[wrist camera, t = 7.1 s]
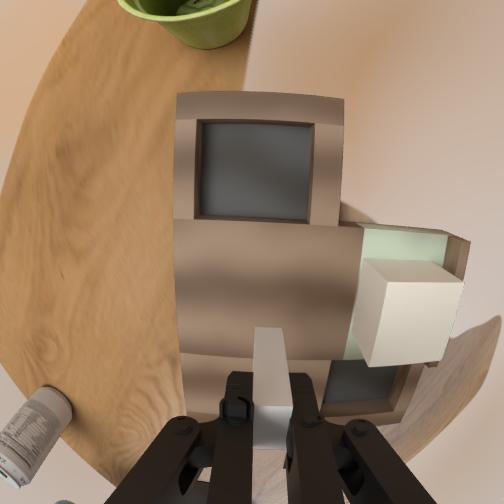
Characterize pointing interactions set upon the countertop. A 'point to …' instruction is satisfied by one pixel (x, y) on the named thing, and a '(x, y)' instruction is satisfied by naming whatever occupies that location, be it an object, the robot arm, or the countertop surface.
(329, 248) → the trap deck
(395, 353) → the block
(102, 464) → the countertop surface
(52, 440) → the energy drink can
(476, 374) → the countertop surface
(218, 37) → the plant pot
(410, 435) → the countertop surface
